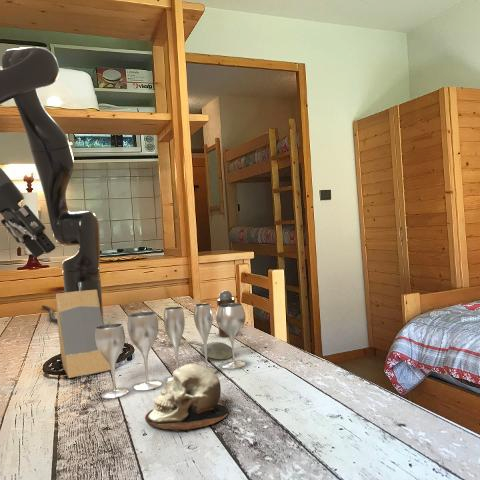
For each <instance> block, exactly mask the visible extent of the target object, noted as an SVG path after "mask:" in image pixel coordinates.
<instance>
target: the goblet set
mask: <svg viewBox="0 0 480 480" xmlns="http://www.w3.org/2000/svg"><path fill="white" fill-rule="evenodd" d="M212 308H213V307H212V305H211V303H210V302H204V303H203V302H202V303H197V304H194V308H193V321H194V325H195V327H196V329H197V332H198V334H199V336H200V338H201V340H202V344H204V350H205V354H204V359H205V368H207V369H208V370H210V371H211V372H213V373H214V374H216V373H217V372H218V369H217V368H215V367H209V364H208V356H207V344H208V340H209V335H210V332H211V330H212V326H213V319H214V316H213V309H212ZM185 322H186V321H185V312H184V309H183V307H182V306H179V305H178V306H169V307H165V308H164V310H163V325H164V329H165V333H166V335H167V337H168V339H169V341H170V340H171V342H172V344H173V345H172V344H171V345H172V347H173V350H174V355H175V363H176V364H175V365H176V370H177V369H178V368H180V366H179V347H180V343H181V342H180V340H182V337H183V334H184V332H185V331H184V330H185V325H186V324H185ZM215 322H216V325H217V326H218V329H219V328H220V329H222V330H223V331H224V332H225V333H226V334H227V335H228V336H229V337H228V338H229V341H230V344H231V345H230V346H231V348H232V361H229V362H226V363H223V364H222V365H221V367H222V368H223V369H227V370H232V369H241V368H243V367H245V366H246V365H247V364H246V361H242V360H235V339H236V336H237V335H238V333H239V331H240V330H241V329H242V327H244V325H245V322H246V312H245V309H244V306H243V304H242V303H239V302H235V303H228V304H222V305H219V306H218V309H216V314H215ZM126 325H127V332H128V333H127V334H128V336H129V339H130V341H131V342H132V343H133V345H134V346H135V347H136V349H138V350H139V352H140V353H141V355H142V358H143V362H144V370H145V381H144V382H140V383H138V384H136V385H134V387H133V389H134V390H135V391H138V392H139V391H141V392H143V391H151V390H154V389H157V388H160V387H161V386H162V382H161V381H158V380H149V364H148V363H149V361H148V360H149V354H150V351H151V349H152V347H153V346H154V344H155V342H156V340H157V337H158V333H159V319H158V315H157V311H140V312H139V311H138V312H134V313H130V314H128V315H127V324H126ZM125 340H126V334H125V327H124V324H123V323H120V322H114V323H106V324H105V323H104V325H101V326H98V327H96V331H95V341H96V345H97V348H98V350H99V352H100V353H101V354H102V356H103V357H104V358H105V359H106V360H107V361H108V363H109V365H110V369H111V370H110V372H111V373H110V374H111V379H112V381H111V382H112V389H111V390H107V391H105V392H103V393H102V394H101V395H100V398H102V399H104V400H105V399H106V400H110V399H111V400H112V399H118V398H121V397H124V396H125V395H127V394H129V390H128V389H126V388H119V389H118V388H116V364H117V360H118V358H119V357H120V354H121V353H122V351H123V349H124V346H125ZM171 379H173V375H172V376H170V377H168V378H167V381H169V380H171Z"/></svg>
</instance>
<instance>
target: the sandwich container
mask: <svg viewBox="0 0 480 480" xmlns="http://www.w3.org/2000/svg"><path fill="white" fill-rule="evenodd" d="M55 305H56V319H57V321H58V323H57V330H58V340H59V348H60V357H61V364H62V368H63V370H64V372H65V374H66V376H67V377H68V379H71V378H76V377H83V376H87V375H94V374H99V373H102V372H107V371H111V369H110V365H109V363H108V361H107V360H106V359H105V358H104V357H103V356H102V354H101V353H100V352H99V350H98V348H97V345H96V341H95V331H96V327H98V326H101V325H105V323H104V324H103V320H102V315H101V310H100V305H99V299H98V293H97V290H85V291H75V292H67V293H65V292H60V293H56V294H55Z"/></svg>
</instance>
